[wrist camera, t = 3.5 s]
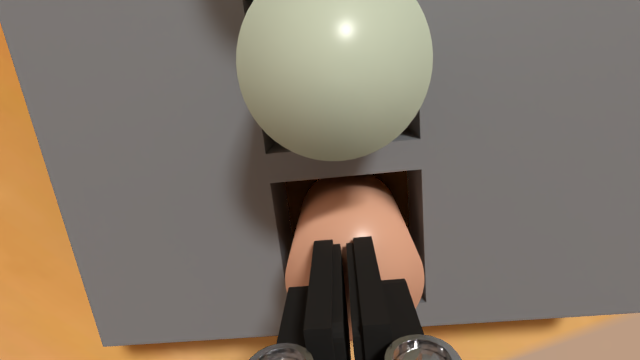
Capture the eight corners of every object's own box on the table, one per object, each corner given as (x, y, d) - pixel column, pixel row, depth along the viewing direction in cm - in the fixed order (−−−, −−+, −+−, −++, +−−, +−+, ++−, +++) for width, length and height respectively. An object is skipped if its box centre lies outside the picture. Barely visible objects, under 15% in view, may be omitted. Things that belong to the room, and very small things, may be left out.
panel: (645, -311, 11) (751, -441, 8) (588, 269, 16) (641, 312, 14) (3, -201, 13) (-96, -280, 10) (140, 301, 18) (103, 346, 15)
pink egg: (395, 165, 15) (421, 211, 10) (400, 256, 16) (426, 336, 11) (295, 174, 15) (276, 223, 11) (306, 263, 16) (294, 344, 12)
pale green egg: (392, -9, 12) (430, -59, 7) (399, 120, 13) (435, 152, 8) (266, 7, 12) (219, -31, 7) (282, 132, 13) (252, 169, 8)
